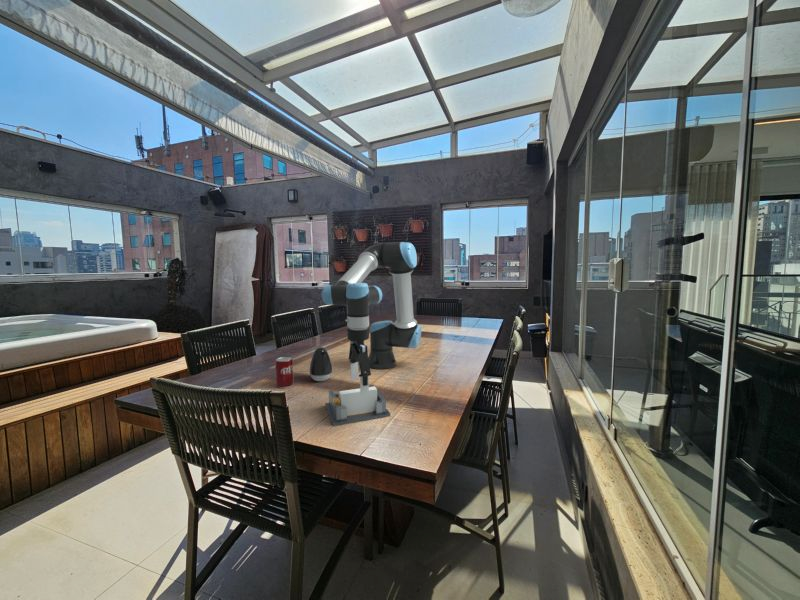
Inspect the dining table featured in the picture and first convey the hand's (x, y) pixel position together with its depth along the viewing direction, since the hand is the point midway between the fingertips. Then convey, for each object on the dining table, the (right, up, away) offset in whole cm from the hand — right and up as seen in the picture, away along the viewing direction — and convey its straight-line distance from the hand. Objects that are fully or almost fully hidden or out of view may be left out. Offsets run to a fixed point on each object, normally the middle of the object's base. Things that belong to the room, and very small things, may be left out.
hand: (359, 386), depth 119 cm
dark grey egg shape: (-22, -6, +36) cm, 43 cm away
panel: (0, -9, +1) cm, 9 cm away
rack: (-2, -10, +4) cm, 11 cm away
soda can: (-36, -7, +29) cm, 47 cm away
